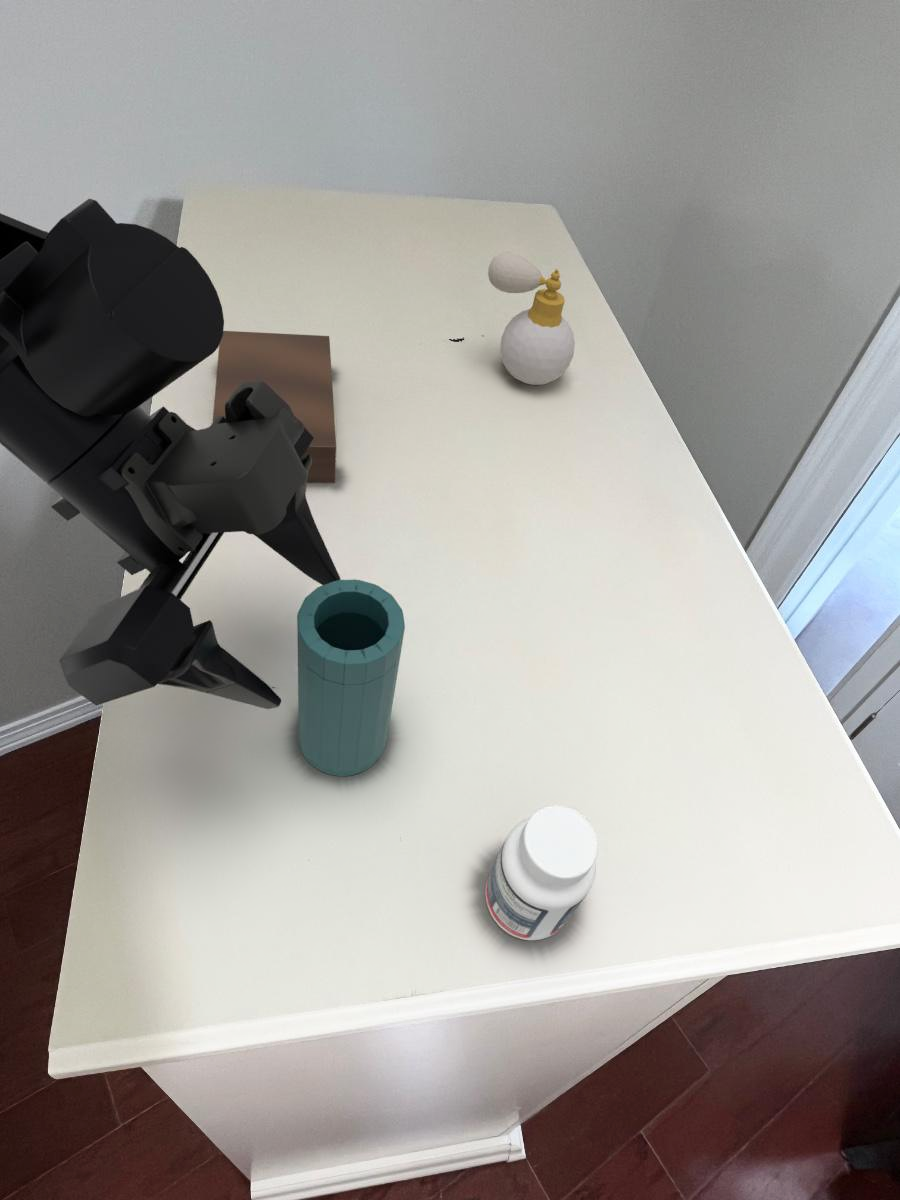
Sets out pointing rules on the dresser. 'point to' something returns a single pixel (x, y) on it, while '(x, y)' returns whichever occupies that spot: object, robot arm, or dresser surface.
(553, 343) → the perfume bottle
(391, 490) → the dresser surface
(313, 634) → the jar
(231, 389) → the brown wooden pedestal
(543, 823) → the pill bottle
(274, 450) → the robot arm
